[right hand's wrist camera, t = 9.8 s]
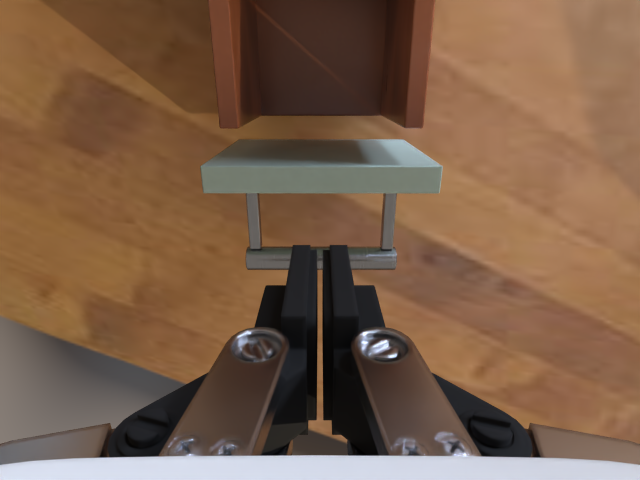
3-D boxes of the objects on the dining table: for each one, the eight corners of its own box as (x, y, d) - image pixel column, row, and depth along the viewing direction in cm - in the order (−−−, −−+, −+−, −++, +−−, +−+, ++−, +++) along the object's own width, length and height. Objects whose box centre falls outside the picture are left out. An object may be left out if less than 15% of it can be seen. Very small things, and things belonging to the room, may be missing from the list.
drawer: (396, 234, 27) (427, 296, 19) (245, 234, 27) (214, 296, 19) (436, -273, 18) (529, -558, 10) (207, -273, 18) (115, -558, 10)
